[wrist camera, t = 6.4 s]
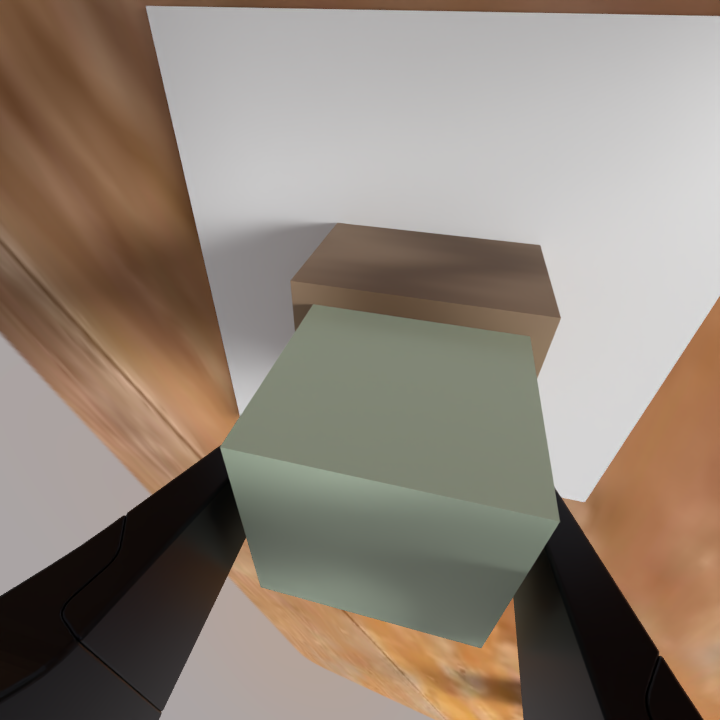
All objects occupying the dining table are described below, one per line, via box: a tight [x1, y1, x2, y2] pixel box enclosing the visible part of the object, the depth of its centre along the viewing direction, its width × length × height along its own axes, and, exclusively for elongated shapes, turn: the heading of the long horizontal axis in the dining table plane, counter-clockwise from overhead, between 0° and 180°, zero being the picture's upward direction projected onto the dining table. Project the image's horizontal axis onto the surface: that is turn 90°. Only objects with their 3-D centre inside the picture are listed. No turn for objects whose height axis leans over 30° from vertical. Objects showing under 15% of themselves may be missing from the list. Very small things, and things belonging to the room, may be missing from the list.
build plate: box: [146, 6, 720, 502], centre depth 14 cm, size 16×16×1 cm
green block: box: [220, 304, 560, 648], centre depth 9 cm, size 5×5×4 cm
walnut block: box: [290, 223, 561, 378], centre depth 12 cm, size 6×6×4 cm
